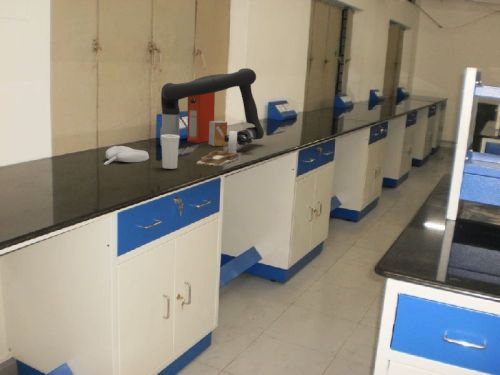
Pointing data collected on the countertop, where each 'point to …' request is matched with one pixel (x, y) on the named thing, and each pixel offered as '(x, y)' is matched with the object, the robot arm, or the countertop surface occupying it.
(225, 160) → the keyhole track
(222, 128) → the small box
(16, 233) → the countertop surface
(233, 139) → the post
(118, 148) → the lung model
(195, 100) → the file binder
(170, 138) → the cup
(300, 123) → the countertop surface
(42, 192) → the countertop surface
